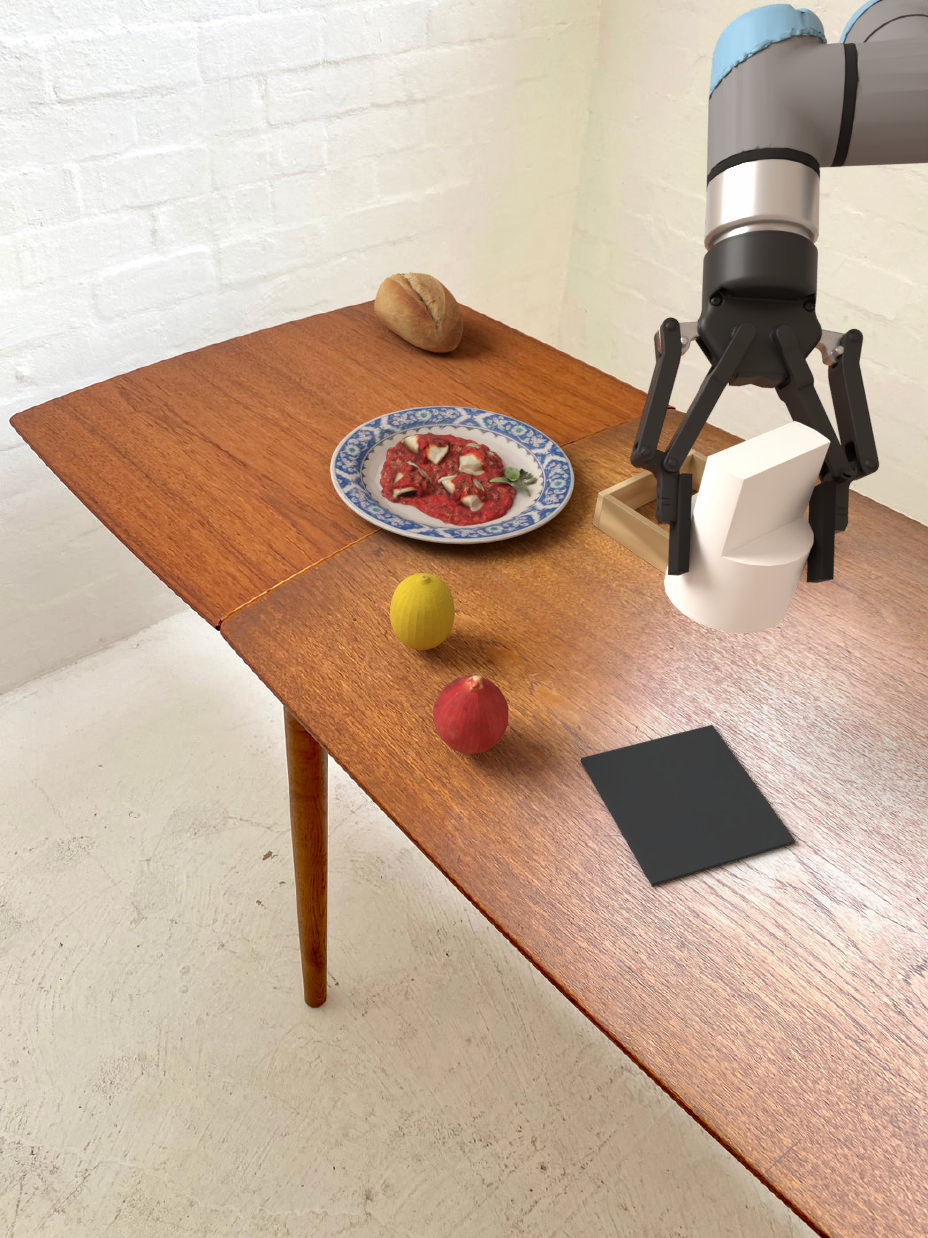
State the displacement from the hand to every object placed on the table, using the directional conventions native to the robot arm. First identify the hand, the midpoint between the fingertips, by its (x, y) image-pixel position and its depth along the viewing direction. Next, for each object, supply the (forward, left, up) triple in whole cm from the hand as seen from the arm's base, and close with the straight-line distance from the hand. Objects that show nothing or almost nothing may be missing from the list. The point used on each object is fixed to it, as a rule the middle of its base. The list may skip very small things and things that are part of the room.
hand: (749, 577), depth 66 cm
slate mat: (+3, +4, -19) cm, 19 cm away
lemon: (+17, -18, -19) cm, 31 cm away
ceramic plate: (+6, -41, -19) cm, 46 cm away
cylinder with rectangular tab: (-1, -3, -4) cm, 5 cm away
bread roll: (-1, -75, -19) cm, 78 cm away
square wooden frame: (-15, -26, -19) cm, 36 cm away
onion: (+17, -6, -19) cm, 26 cm away
